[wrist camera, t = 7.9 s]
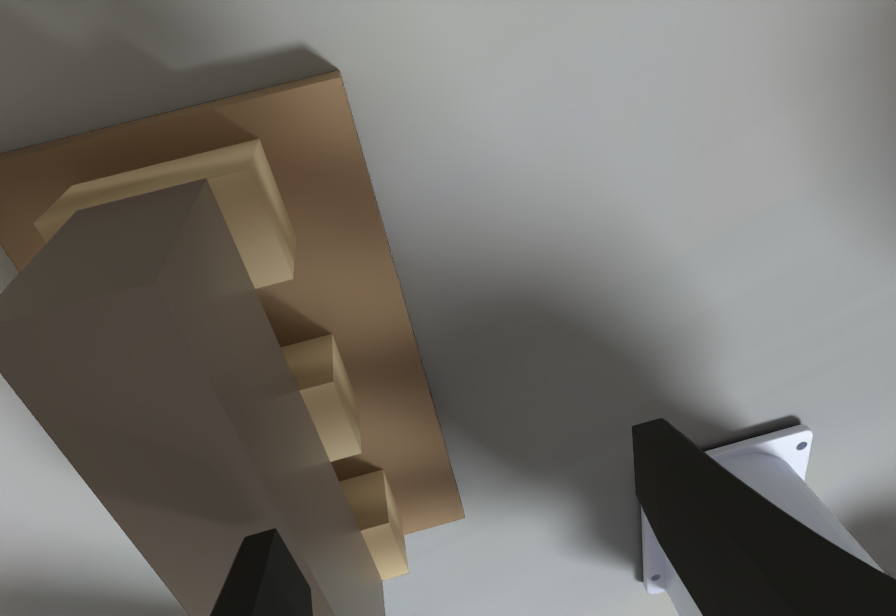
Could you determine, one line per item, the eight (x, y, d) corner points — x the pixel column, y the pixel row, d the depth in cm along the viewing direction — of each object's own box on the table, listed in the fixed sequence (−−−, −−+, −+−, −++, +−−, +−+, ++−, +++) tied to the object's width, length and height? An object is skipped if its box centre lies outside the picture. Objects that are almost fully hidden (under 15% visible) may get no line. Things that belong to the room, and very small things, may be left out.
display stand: (460, 499, 26) (477, 570, 23) (233, 562, 26) (222, 643, 23) (339, 69, 16) (342, 98, 13) (-29, 160, 16) (-108, 211, 13)
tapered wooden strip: (382, 579, 23) (395, 727, 18) (297, 603, 22) (292, 757, 18) (206, 178, 14) (155, 282, 10) (67, 212, 14) (-46, 334, 10)
